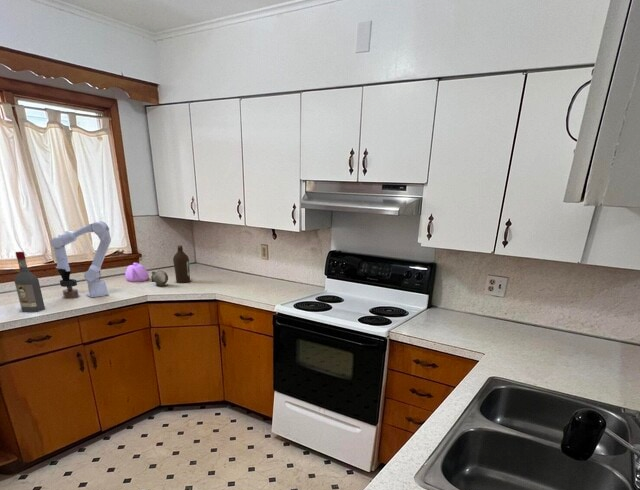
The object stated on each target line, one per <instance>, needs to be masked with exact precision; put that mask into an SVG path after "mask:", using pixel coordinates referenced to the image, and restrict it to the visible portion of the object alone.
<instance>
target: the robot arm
mask: <svg viewBox="0 0 640 490" xmlns="http://www.w3.org/2000/svg"><path fill="white" fill-rule="evenodd" d="M87 233H94V234H95V235H96V236H97V237H98V239H99V240H100V241H99V244H98V247H97V249H96V250H95V251H96V252H95V254H94V257H93V259H92V262H91V265H90V266H89V268H88V269H87V271H85V272H84V279H85V280H86V284H87V288H88V293H87V294H86V296H88V297H91V298H98V297H105V296H109V294H108V289H107V284H106V281H105V279H101V278H100V277H101V270H102V265H103V263H104V260H105V257H106V255H107V252H108V249H109V248H110V244H111V242H112V237H111V232H110V227H109V225H108V224H107V223H106V222H105V221H103V220H100V221H95V222H92V223H89V224H86V225H83V226H82V227H80V228H78V229H76V230H75V231H72V230H69V231H68V230H66V231H64V233H62V234H58V235H57V237H53V238H52V239H51V240H50V245H51V246H52V247H53V252H54V256H55V262H56V266H55V269H57V272H58V274H59V275H60V277H61V280H64V281H69V279H71V278H70V276H71V272H72V270H71V268H70V264H69V260H68V259H69V258H68V255H67V251H66V246H67V245H69V244H72V243H73V242H75V241H77V239H78V237H80V236H83V235H85V234H87Z"/></svg>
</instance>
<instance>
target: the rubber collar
mask: <svg viewBox="0 0 640 490" xmlns="http://www.w3.org/2000/svg"><path fill="white" fill-rule="evenodd" d="M77 282H78V281H77V280H76V279H74V278H70V279H69V281H64V280H63V279H60V280H59V285H60V287H63V288H67V287H71V286H72V287H76V286H78V283H77Z"/></svg>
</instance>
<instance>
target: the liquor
mask: <svg viewBox="0 0 640 490" xmlns="http://www.w3.org/2000/svg"><path fill="white" fill-rule="evenodd" d="M15 257H16V260H17V263H18V267H19V272H18V273H17V274H16V276H15V277H14V286H15V289H16V293H17V297H18V301H19V305H20V308H21V311H23V312H24V313H38V312H40V311H43V310H45V308H46V306H45V302H44V297H43V293H42V289H41V285H40V280H39V278H38V277H37V276H36V275H35V274H34V273H33V272H31V271H30V269H29V268H28V264H27V261H26V254H25V252H24V251H15Z"/></svg>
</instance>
